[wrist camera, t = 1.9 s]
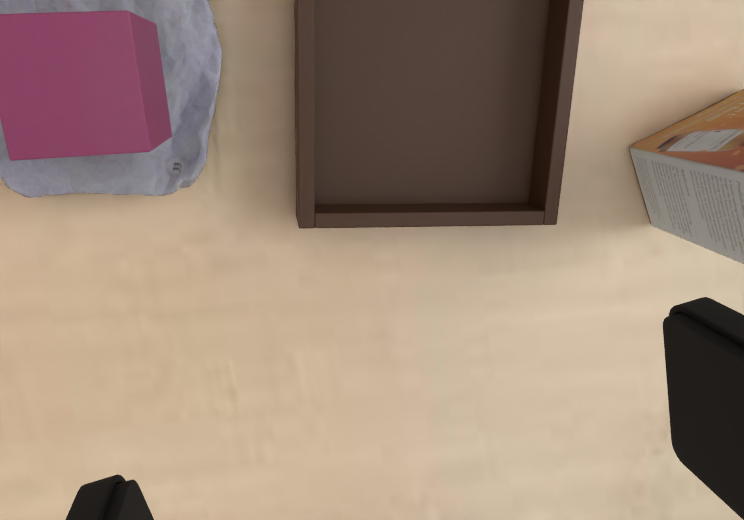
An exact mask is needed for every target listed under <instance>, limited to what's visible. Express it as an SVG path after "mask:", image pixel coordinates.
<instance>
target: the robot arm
mask: <svg viewBox="0 0 744 520" xmlns="http://www.w3.org/2000/svg"><path fill="white" fill-rule="evenodd" d="M663 334H664V347H665V360H666V373H667V387H668V400H669V413H670V426H671V439H672V446H673V449H674V451H675V453H676V455H677V457H678V458H679V460H680V461H681V462H682V463H683V464H684V465H685V466H686V467H687V468H688V469H689V470H690V471H691V472H692V473H693V474H694V475H696V476H697V477H698V478H699V479H700V480H701V481H702V482H703V483H704V484H705V485H706V486H707V487H709V488H710V489H711V490H712V491H713V492H714V493H715V494H716V495H717V496H718V497H719V498H720V499H722V500H723V501H724V502H725V503H726V504H727V505H728V506H729V507H730V508H731V509H732V510H733V511H735V512H736V513H737V514H738V515H739V516H740V517H741V518H742V519H743V520H744V315H742V314H740V313H738V312H736V311H734V310H732V309H730V308H728V307H726V306H724V305H722V304H720V303H718V302H716V301H714V300H712V299H710V298H707V297H704V298H699V299H696V300H693V301H689V302H686V303H683V304H680V305H676V306H674V307H673V308H671V310H670V313H669V316H668V317H666V318H665V319H664V322H663ZM66 520H154V519H153V517H152V514H151V512H150V510H149V508H148V505H147V503H146V501H145V499H144V496H143V494H142V492H141V490H140V487H139V485H138V484H137V482H136V481H135V480H129V481H125V479H124V478H123V477H122V476H121V475H115V476H111V477H108V478H105V479H101V480H98V481H95V482H92V483H88V484H85V485H83V486H81V487H80V489H79V491H78V493H77V495H76V497H75V500H74V502H73V504H72V506H71V509H70V511H69V513H68V515H67V518H66Z"/></svg>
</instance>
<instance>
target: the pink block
mask: <svg viewBox="0 0 744 520" xmlns="http://www.w3.org/2000/svg"><path fill="white" fill-rule="evenodd" d="M0 119H1V123H2V128H3V132H4V137H5V141H6V146H7V150H8V154H9V159H10V160H11V161H15V160H31V159H47V158H63V157H79V156H95V155H110V154H126V153H142V152H150V151H152V150H153V149H155V148H156V147H158V146H159V145H161V144H162V143H163V142H165V141H166V140H168V139H169V138H171V137H172V130H171V123H170V116H169V109H168V102H167V95H166V88H165V81H164V74H163V67H162V60H161V53H160V46H159V39H158V32H157V25H156V23H154V22H151V21H149V20H147V19H145V18H143V17H141V16H139V15H136V14H134V13H132V12H130V11H128V10H122V11H87V12H52V13H17V14H0Z"/></svg>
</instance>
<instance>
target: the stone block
mask: <svg viewBox="0 0 744 520" xmlns="http://www.w3.org/2000/svg"><path fill="white" fill-rule="evenodd" d="M122 10H128V11H130V12H132V13H134V14H136V15H139V16H141V17H143V18H145V19H147V20H149V21H151V22H154V23H156V25H157V32H158V39H159V46H160V53H161V60H162V67H163V74H164V81H165V88H166V95H167V102H168V109H169V116H170V123H171V130H172V137H171V138H169V139H168V140H166V141H165V142H163V143H162V144H161V145H159V146H158V147H156V148H155V149H153V150H152V151H150V152H142V153H126V154H110V155H95V156H79V157H63V158H47V159H31V160H15V161H11V160H10V159H9V154H8V150H7V146H6V141H5V137H4V132H3V128H2V123H1V119H0V177H1V179H2V180H3V181H4V183H5V184H6V185H7V187H8V188H10V189H11V190H13V191H15V192H17V193H19V194H21V195H23V196H25V197H42V196H44V195H60V194H70V193H91V194H114V195H131V194H138V195H148V196H163V195H168V194H172V193H174V192H176V191H177V189H179V188H183V187H189V186H191V185H192V184H193V183H194V182H195V180H196V178H197V177H198V175H199V174H200V173H201V171H202V169H203V166H204V165H205V162H206V159H207V150H208V136H209V131H210V125H211V121H212V118H213V116H214V112H215V100H216V95H217V92H218V86H219V76H220V70H221V62H222V49H221V45H220V42H219V39H218V33H217V29H216V25H215V23H214V15H213V11H212V9H211V7H210V4H209V1H208V0H0V14H17V13H52V12H87V11H122Z"/></svg>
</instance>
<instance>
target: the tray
mask: <svg viewBox="0 0 744 520" xmlns="http://www.w3.org/2000/svg"><path fill="white" fill-rule="evenodd" d="M583 1H584V0H294V20H295V130H296V216H297V221H298V226H299V228H314V227H315V228H359V227H431V226H503V225H556V224H557V215H558V207H559V199H560V191H561V182H562V174H563V166H564V158H565V149H566V141H567V133H568V125H569V117H570V108H571V100H572V92H573V84H574V75H575V67H576V59H577V51H578V43H579V34H580V26H581V18H582V10H583Z"/></svg>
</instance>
